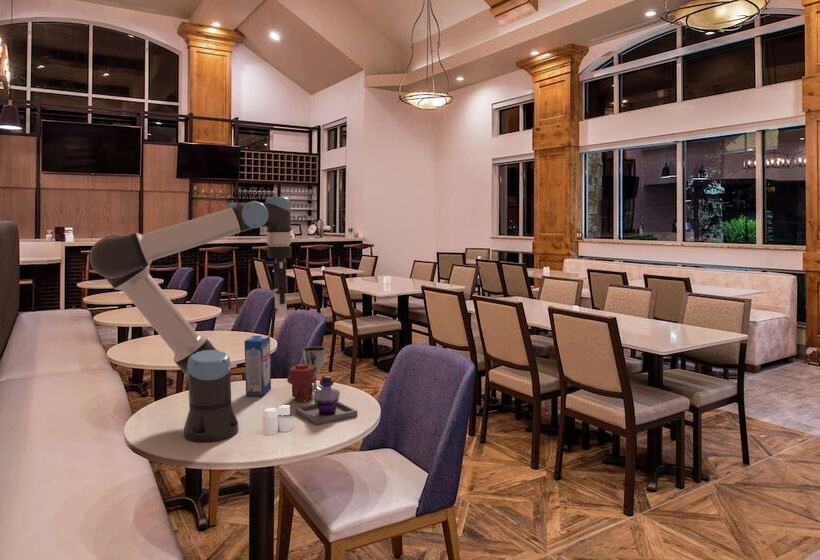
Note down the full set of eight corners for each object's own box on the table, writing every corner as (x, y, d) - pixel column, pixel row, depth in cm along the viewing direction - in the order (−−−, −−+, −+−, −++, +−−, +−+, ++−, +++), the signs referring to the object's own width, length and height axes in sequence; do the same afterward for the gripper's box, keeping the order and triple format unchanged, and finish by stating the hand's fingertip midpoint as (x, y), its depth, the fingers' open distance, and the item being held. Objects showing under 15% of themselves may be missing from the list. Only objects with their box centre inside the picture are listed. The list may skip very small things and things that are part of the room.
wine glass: (311, 384, 225) (310, 345, 223) (329, 386, 222) (329, 347, 220) (300, 390, 217) (299, 350, 216) (319, 392, 214) (318, 351, 213)
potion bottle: (308, 412, 190) (307, 375, 189) (331, 406, 196) (331, 371, 195) (322, 419, 184) (321, 381, 183) (345, 413, 189) (345, 376, 188)
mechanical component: (319, 395, 210) (314, 404, 200) (291, 395, 211) (284, 404, 201) (318, 361, 209) (313, 368, 199) (290, 361, 209) (284, 368, 199)
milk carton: (254, 388, 219) (253, 335, 217) (271, 389, 219) (269, 335, 217) (246, 396, 209) (244, 341, 207) (263, 396, 209) (261, 341, 207)
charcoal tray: (316, 425, 180) (316, 419, 179) (295, 412, 191) (295, 407, 191) (357, 416, 188) (357, 410, 188) (334, 404, 200) (334, 399, 200)
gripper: (294, 247, 179) (296, 316, 181) (287, 244, 203) (289, 305, 205) (269, 247, 177) (271, 317, 179) (265, 244, 200) (266, 306, 202)
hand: (280, 311), depth 192 cm, fingers open, 13 cm apart
